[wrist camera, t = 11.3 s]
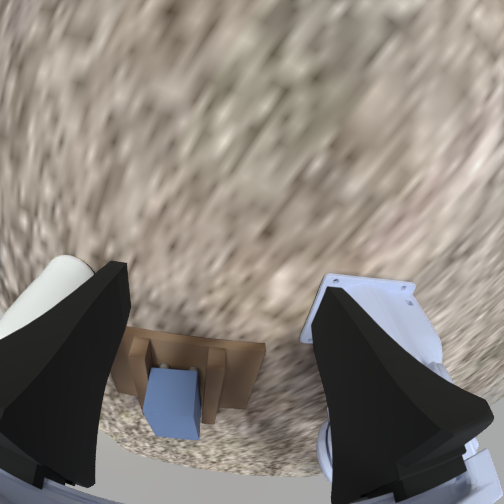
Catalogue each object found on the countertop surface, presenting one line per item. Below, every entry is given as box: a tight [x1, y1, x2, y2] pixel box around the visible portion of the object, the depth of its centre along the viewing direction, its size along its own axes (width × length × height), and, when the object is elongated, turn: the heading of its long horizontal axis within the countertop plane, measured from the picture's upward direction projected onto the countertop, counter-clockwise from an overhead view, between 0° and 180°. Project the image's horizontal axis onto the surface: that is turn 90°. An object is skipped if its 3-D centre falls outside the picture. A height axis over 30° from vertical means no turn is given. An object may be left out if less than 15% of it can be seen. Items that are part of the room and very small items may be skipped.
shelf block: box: [142, 367, 201, 440], centre depth 25 cm, size 6×4×5 cm
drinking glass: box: [0, 255, 94, 339], centre depth 16 cm, size 7×7×15 cm
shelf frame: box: [111, 326, 266, 424], centre depth 28 cm, size 16×12×4 cm
